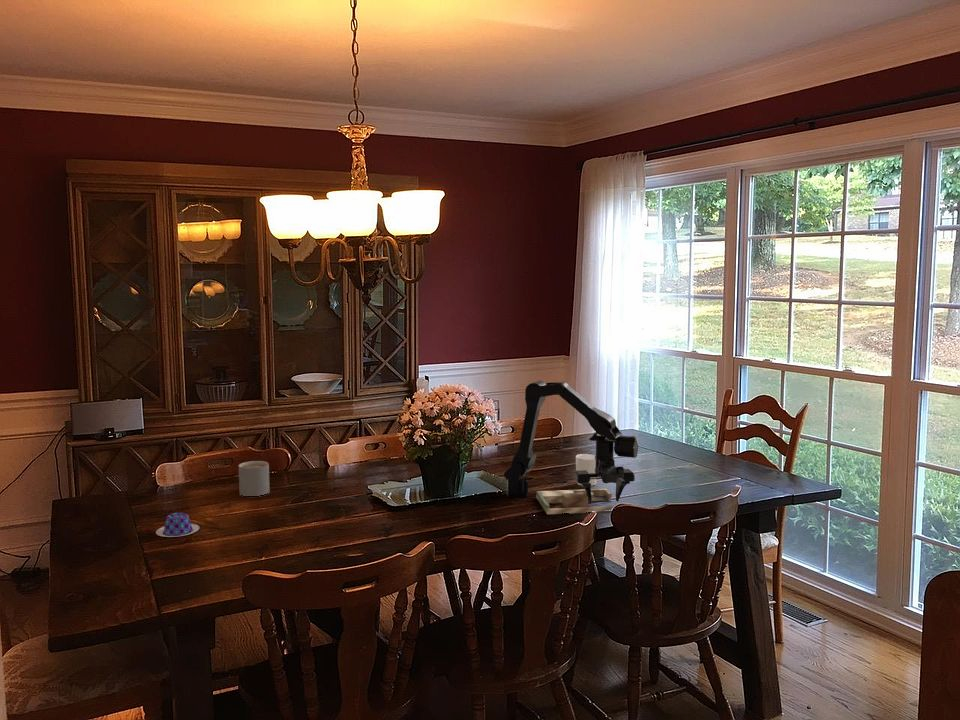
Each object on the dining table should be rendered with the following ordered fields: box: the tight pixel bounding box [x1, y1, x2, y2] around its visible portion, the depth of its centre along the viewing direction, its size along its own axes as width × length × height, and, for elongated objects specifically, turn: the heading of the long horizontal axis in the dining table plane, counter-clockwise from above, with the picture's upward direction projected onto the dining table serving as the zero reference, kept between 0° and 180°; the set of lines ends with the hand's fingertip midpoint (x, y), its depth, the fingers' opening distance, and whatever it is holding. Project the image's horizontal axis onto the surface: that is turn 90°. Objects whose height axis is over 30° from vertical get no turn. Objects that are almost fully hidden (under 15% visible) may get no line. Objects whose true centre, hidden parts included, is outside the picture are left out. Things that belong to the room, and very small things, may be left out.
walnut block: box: [561, 492, 589, 508], centre depth 256 cm, size 7×5×4 cm
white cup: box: [575, 453, 597, 487], centre depth 282 cm, size 8×8×10 cm
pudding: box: [155, 512, 200, 538], centre depth 234 cm, size 12×12×5 cm
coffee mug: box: [238, 460, 271, 497], centre depth 274 cm, size 13×10×10 cm
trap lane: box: [536, 488, 615, 515], centre depth 258 cm, size 24×17×2 cm
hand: (603, 501), depth 257 cm, fingers open, 9 cm apart
